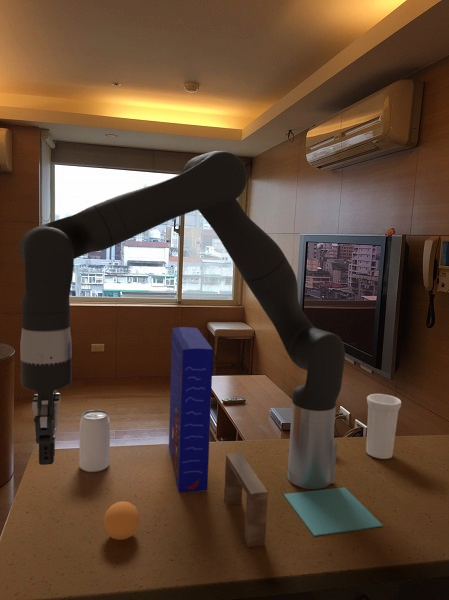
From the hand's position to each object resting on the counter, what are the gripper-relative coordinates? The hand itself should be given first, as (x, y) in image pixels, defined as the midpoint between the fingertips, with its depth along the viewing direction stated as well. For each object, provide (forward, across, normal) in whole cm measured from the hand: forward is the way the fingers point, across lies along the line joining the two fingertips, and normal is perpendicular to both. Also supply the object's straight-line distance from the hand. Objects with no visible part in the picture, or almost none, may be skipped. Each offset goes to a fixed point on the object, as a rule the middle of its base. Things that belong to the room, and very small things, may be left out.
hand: (47, 459), depth 79 cm
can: (+15, +27, -8) cm, 32 cm away
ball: (+12, 0, -12) cm, 17 cm away
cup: (+15, +20, -76) cm, 80 cm away
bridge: (+15, 0, -34) cm, 37 cm away
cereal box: (+15, +23, -28) cm, 39 cm away
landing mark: (+15, 0, -52) cm, 54 cm away
